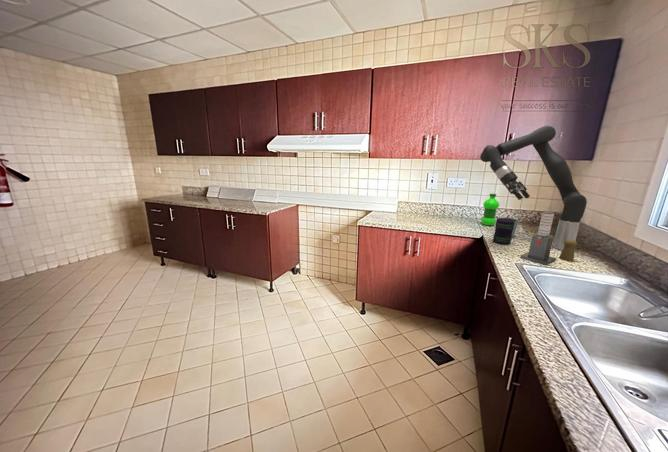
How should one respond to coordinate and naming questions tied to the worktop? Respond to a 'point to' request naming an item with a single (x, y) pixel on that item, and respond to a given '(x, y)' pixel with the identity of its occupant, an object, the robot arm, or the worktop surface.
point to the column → (545, 224)
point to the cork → (568, 250)
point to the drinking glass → (514, 225)
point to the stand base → (540, 250)
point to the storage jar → (503, 231)
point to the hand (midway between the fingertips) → (524, 198)
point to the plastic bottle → (490, 210)
